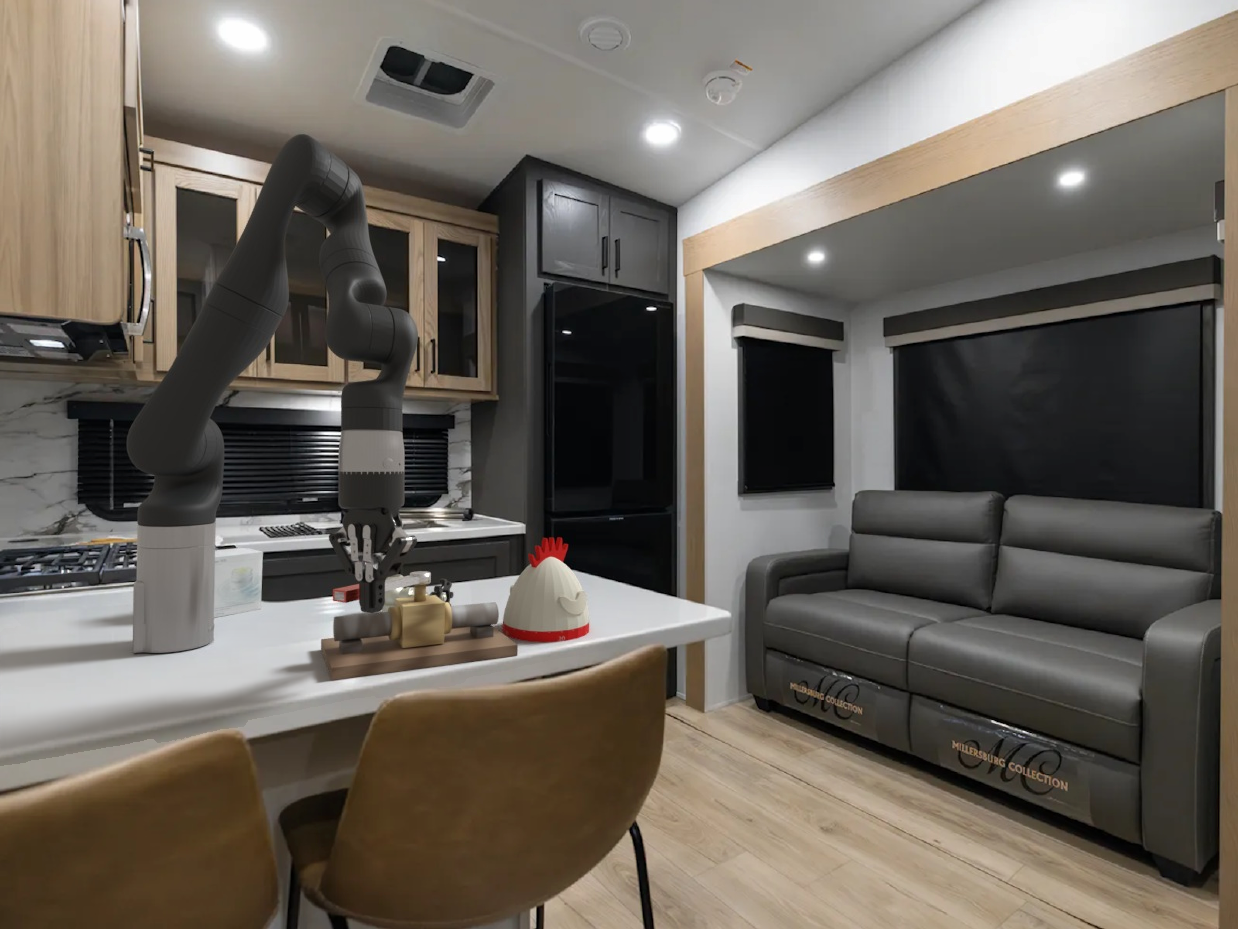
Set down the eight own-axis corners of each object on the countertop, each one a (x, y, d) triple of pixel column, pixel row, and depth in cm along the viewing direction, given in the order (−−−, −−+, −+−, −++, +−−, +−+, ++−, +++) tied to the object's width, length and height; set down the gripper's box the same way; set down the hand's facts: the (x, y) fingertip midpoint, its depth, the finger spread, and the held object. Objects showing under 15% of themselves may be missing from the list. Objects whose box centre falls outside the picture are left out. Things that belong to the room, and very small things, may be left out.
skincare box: (199, 621, 106) (200, 557, 106) (179, 615, 109) (180, 553, 109) (263, 609, 115) (264, 550, 115) (242, 604, 118) (243, 546, 118)
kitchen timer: (606, 630, 107) (608, 538, 106) (545, 648, 96) (548, 545, 96) (546, 615, 115) (548, 530, 115) (484, 630, 105) (486, 536, 105)
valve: (370, 617, 112) (436, 622, 109) (371, 578, 111) (437, 582, 109) (390, 608, 118) (453, 613, 116) (391, 572, 118) (454, 575, 116)
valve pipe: (331, 680, 80) (332, 602, 80) (321, 649, 92) (322, 582, 92) (517, 655, 92) (518, 587, 92) (486, 631, 104) (487, 571, 104)
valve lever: (419, 580, 94) (419, 570, 94) (434, 582, 93) (435, 572, 93) (331, 600, 80) (331, 589, 80) (347, 603, 79) (347, 591, 79)
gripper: (435, 469, 80) (435, 610, 80) (358, 468, 86) (358, 600, 86) (388, 469, 73) (387, 624, 73) (308, 468, 79) (308, 611, 79)
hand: (371, 611), depth 80 cm, fingers closed
